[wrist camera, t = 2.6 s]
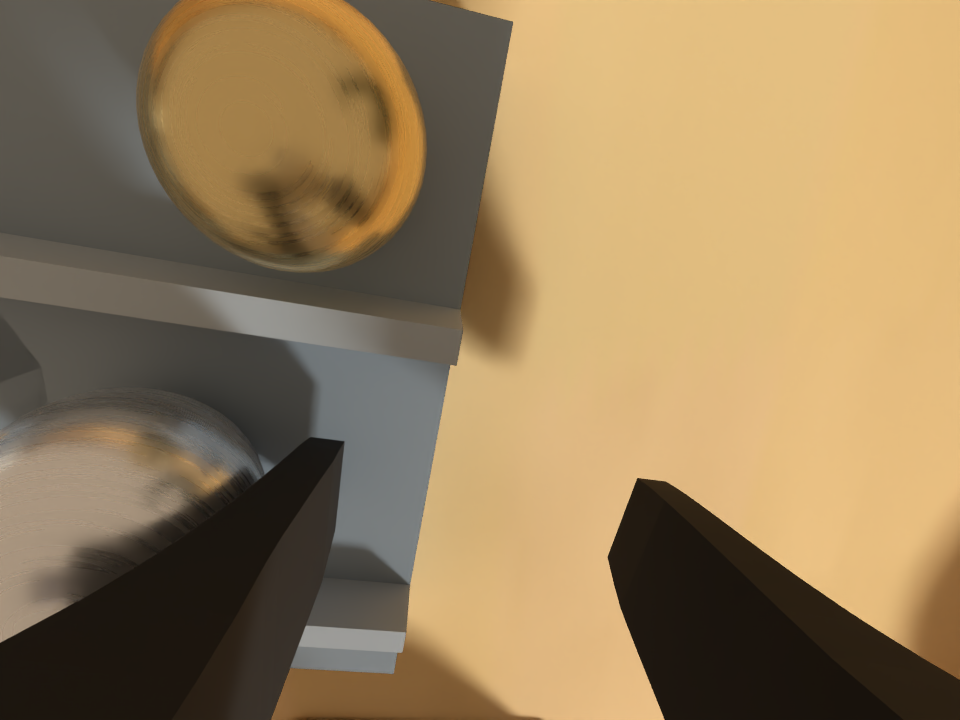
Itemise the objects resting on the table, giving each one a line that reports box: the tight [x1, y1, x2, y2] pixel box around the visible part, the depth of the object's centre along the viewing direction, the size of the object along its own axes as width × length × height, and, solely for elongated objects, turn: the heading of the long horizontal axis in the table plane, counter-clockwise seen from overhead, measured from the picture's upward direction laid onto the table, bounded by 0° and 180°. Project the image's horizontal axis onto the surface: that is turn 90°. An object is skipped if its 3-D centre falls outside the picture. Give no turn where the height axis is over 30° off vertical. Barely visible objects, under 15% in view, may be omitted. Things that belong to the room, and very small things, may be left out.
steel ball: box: [0, 388, 265, 642], centre depth 7 cm, size 4×4×4 cm
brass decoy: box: [136, 0, 427, 273], centre depth 6 cm, size 3×3×3 cm
